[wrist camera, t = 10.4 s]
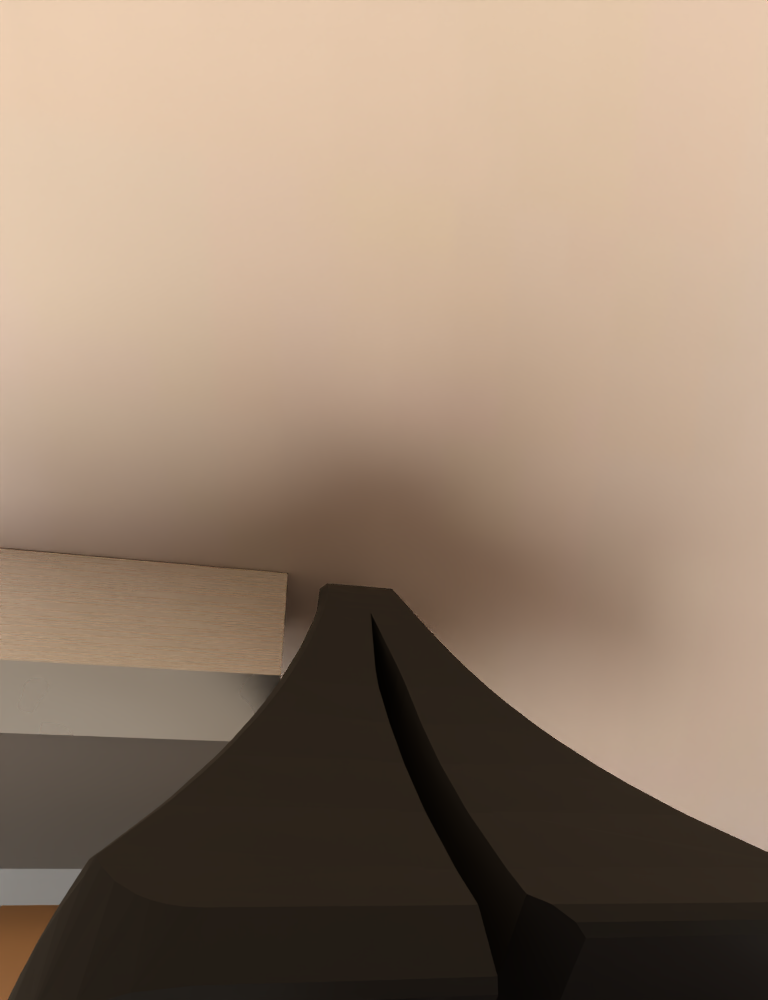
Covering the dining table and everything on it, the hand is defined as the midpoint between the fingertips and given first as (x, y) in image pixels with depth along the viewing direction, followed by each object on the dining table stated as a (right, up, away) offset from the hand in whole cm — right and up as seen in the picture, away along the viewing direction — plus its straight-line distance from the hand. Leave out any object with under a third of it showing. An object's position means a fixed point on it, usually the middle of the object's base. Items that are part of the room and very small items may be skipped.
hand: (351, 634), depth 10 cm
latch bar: (-4, +1, 0) cm, 4 cm away
